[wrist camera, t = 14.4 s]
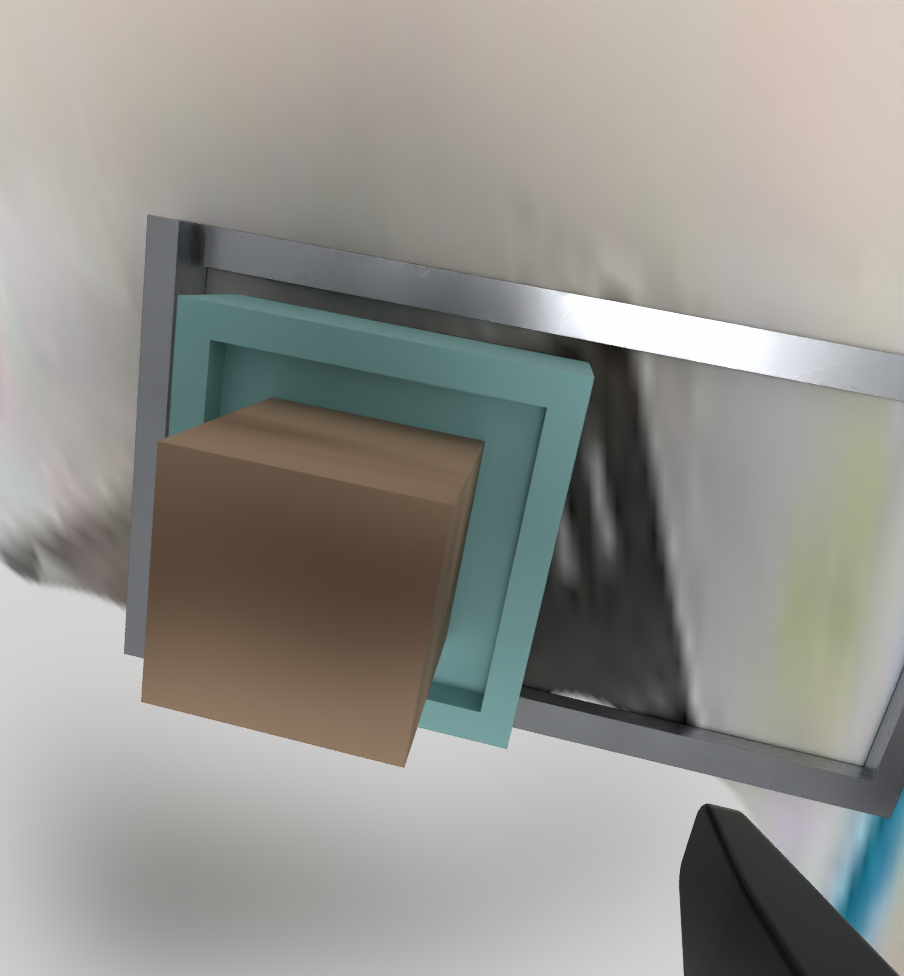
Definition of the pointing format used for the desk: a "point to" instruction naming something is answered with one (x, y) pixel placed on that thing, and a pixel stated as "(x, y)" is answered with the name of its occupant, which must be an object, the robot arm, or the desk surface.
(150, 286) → the gray metal rectangular frame
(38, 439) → the desk surface
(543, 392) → the teal square tray
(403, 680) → the walnut block
